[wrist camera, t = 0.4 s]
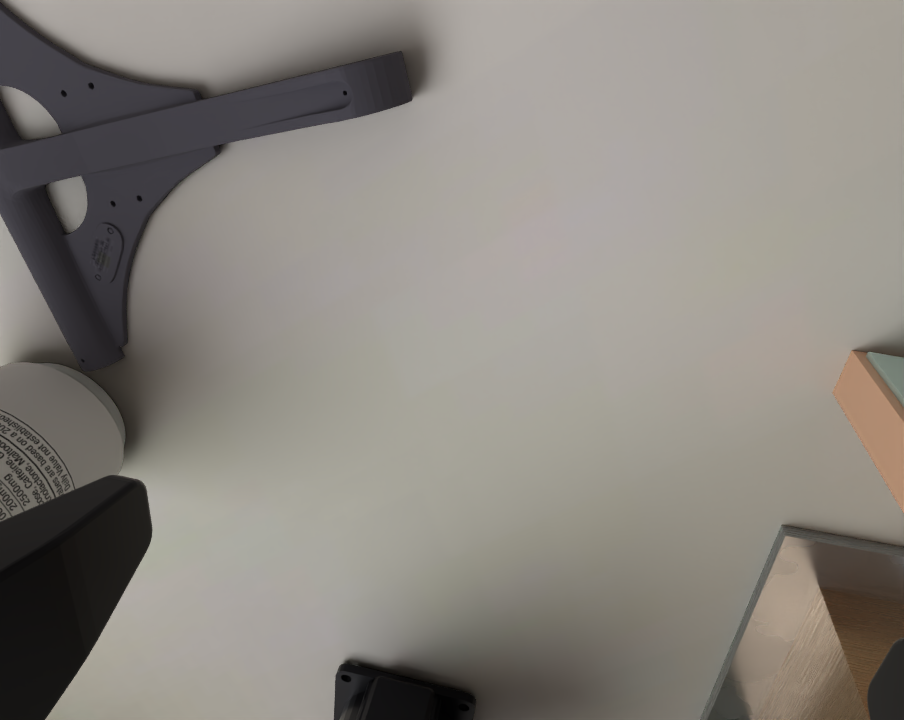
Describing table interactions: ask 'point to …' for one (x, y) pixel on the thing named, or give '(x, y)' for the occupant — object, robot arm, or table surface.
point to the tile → (877, 411)
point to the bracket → (136, 163)
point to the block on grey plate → (813, 630)
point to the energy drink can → (53, 434)
